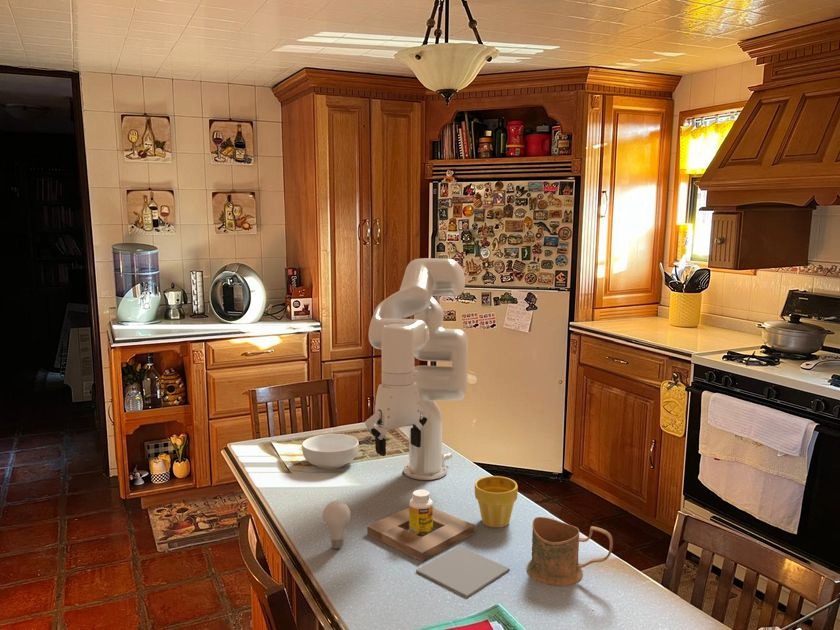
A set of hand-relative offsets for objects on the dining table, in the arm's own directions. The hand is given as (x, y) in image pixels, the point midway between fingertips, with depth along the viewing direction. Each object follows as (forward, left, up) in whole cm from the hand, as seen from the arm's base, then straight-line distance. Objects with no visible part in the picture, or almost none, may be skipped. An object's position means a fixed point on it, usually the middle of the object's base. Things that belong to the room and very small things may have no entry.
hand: (398, 449), depth 157 cm
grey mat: (+3, +22, -21) cm, 30 cm away
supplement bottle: (-3, +4, -21) cm, 21 cm away
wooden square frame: (-3, +4, -21) cm, 21 cm away
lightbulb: (+15, -5, -21) cm, 26 cm away
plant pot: (-20, +13, -21) cm, 32 cm away
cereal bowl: (-16, -46, -21) cm, 53 cm away
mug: (-11, +39, -21) cm, 46 cm away
